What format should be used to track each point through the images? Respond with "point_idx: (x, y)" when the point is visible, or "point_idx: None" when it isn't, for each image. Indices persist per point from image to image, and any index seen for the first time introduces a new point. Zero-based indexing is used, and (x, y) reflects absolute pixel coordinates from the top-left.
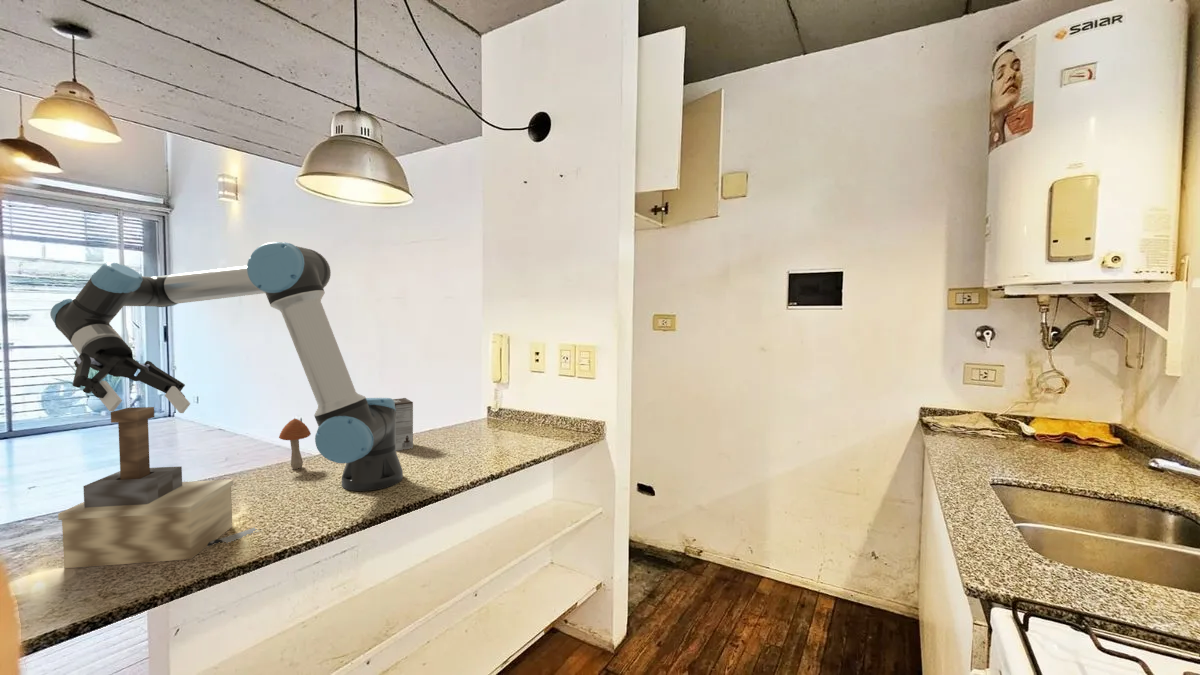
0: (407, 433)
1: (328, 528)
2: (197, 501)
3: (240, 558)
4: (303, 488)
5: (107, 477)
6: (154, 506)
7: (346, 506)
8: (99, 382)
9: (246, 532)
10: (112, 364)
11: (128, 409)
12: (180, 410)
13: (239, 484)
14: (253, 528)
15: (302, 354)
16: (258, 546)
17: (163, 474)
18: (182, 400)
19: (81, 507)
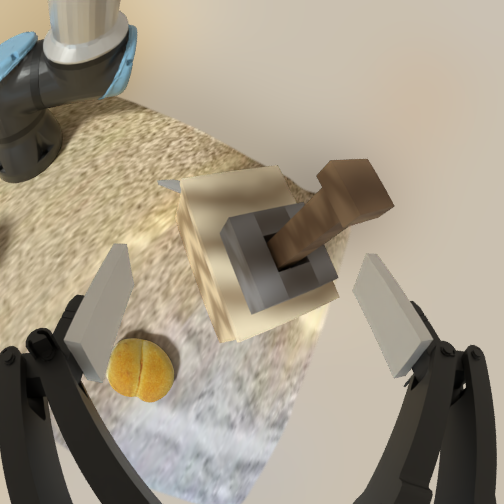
0: None
1: (169, 124)
2: (264, 167)
3: (240, 161)
4: (38, 221)
5: (305, 286)
6: (291, 201)
7: (109, 134)
8: (427, 353)
9: None
10: (405, 501)
11: (368, 194)
12: (131, 281)
13: (24, 342)
14: (177, 189)
15: None
16: (216, 160)
17: (270, 210)
18: (118, 268)
19: (321, 290)
